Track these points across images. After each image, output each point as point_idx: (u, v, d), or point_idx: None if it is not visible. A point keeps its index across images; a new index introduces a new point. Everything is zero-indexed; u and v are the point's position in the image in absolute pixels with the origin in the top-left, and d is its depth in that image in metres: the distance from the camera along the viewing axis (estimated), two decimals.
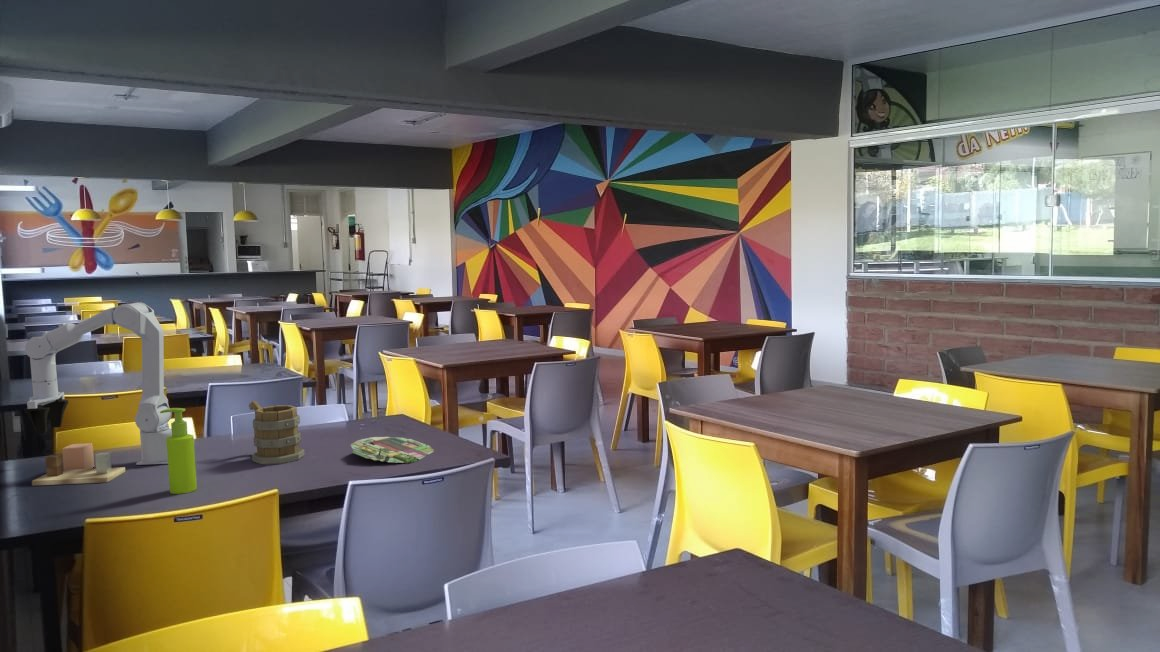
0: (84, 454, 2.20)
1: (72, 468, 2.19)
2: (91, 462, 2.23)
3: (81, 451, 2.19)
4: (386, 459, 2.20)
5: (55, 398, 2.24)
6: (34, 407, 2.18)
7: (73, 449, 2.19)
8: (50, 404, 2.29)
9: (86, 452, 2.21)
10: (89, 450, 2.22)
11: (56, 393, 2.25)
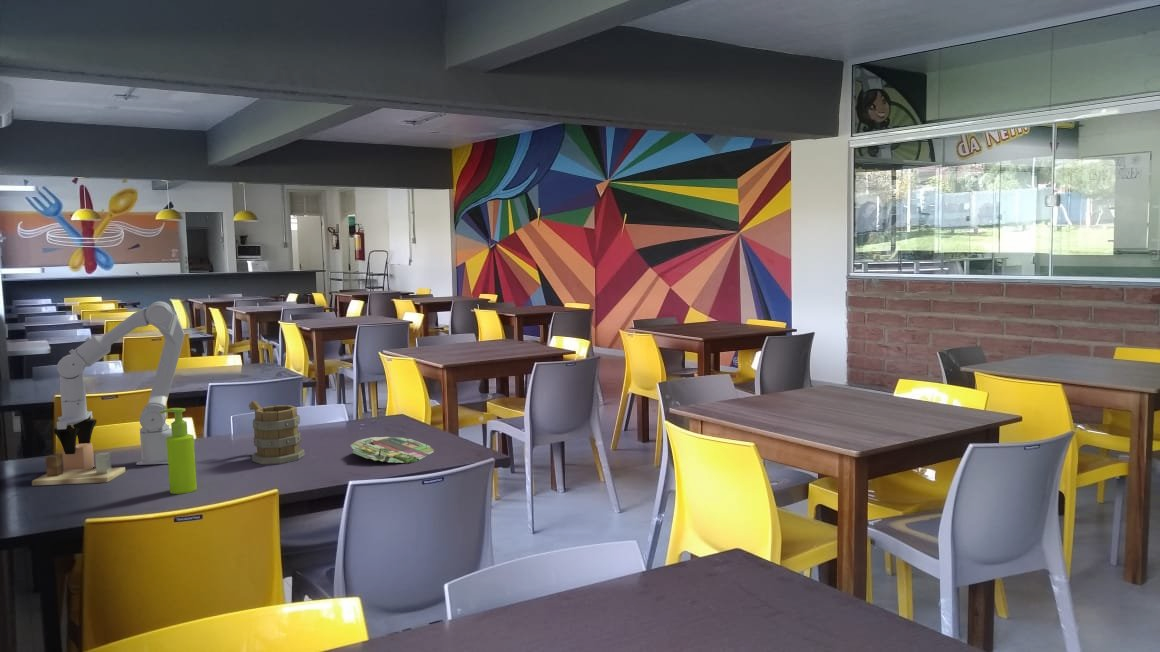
0: (84, 454, 2.20)
1: (72, 468, 2.19)
2: (91, 462, 2.23)
3: (81, 451, 2.19)
4: (386, 459, 2.20)
5: (84, 418, 2.20)
6: (64, 428, 2.14)
7: None
8: (78, 424, 2.25)
9: (86, 452, 2.21)
10: (89, 450, 2.22)
11: (85, 413, 2.21)
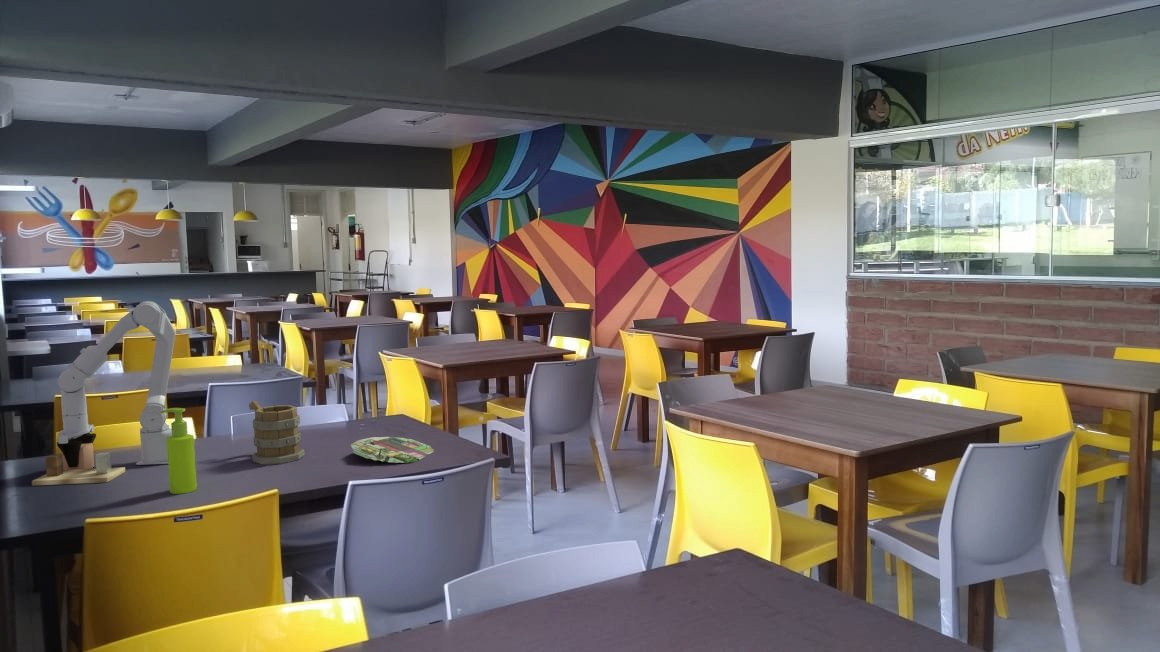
0: (84, 454, 2.20)
1: (72, 468, 2.19)
2: (91, 462, 2.23)
3: (81, 451, 2.19)
4: (386, 459, 2.20)
5: (85, 432, 2.20)
6: (65, 442, 2.14)
7: None
8: (78, 438, 2.24)
9: (86, 452, 2.21)
10: (89, 450, 2.22)
11: (86, 427, 2.21)
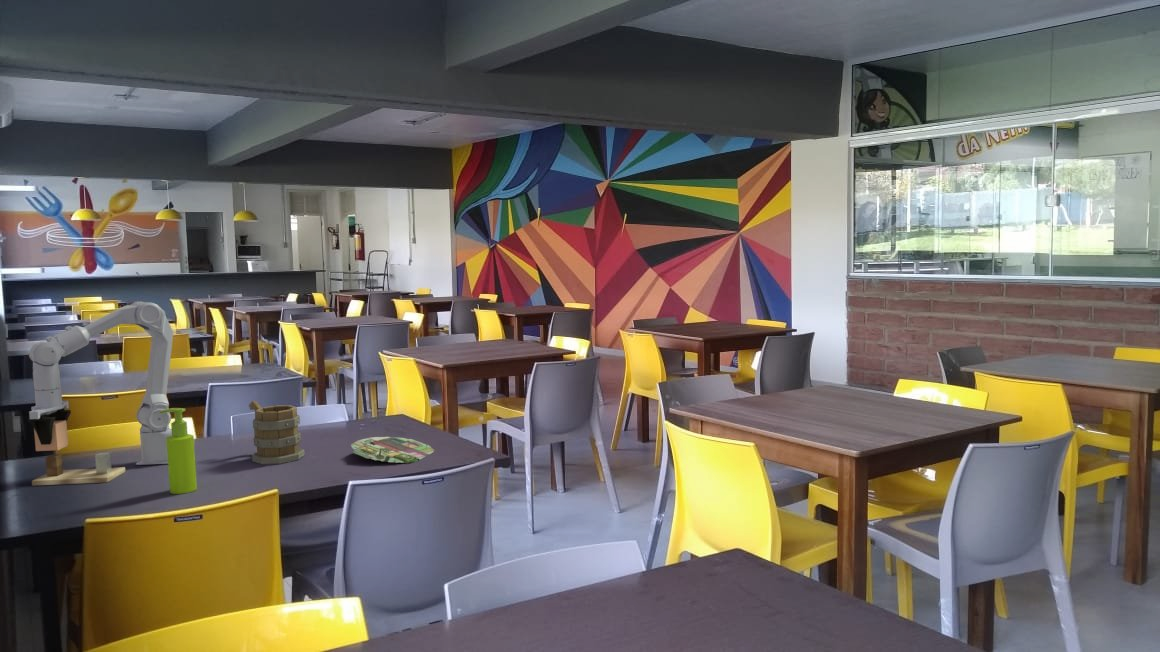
0: (57, 431, 2.10)
1: (44, 446, 2.09)
2: (65, 440, 2.13)
3: (54, 428, 2.09)
4: (386, 459, 2.20)
5: (59, 408, 2.11)
6: (37, 417, 2.04)
7: None
8: (51, 414, 2.14)
9: (59, 429, 2.11)
10: (62, 427, 2.13)
11: (60, 402, 2.11)
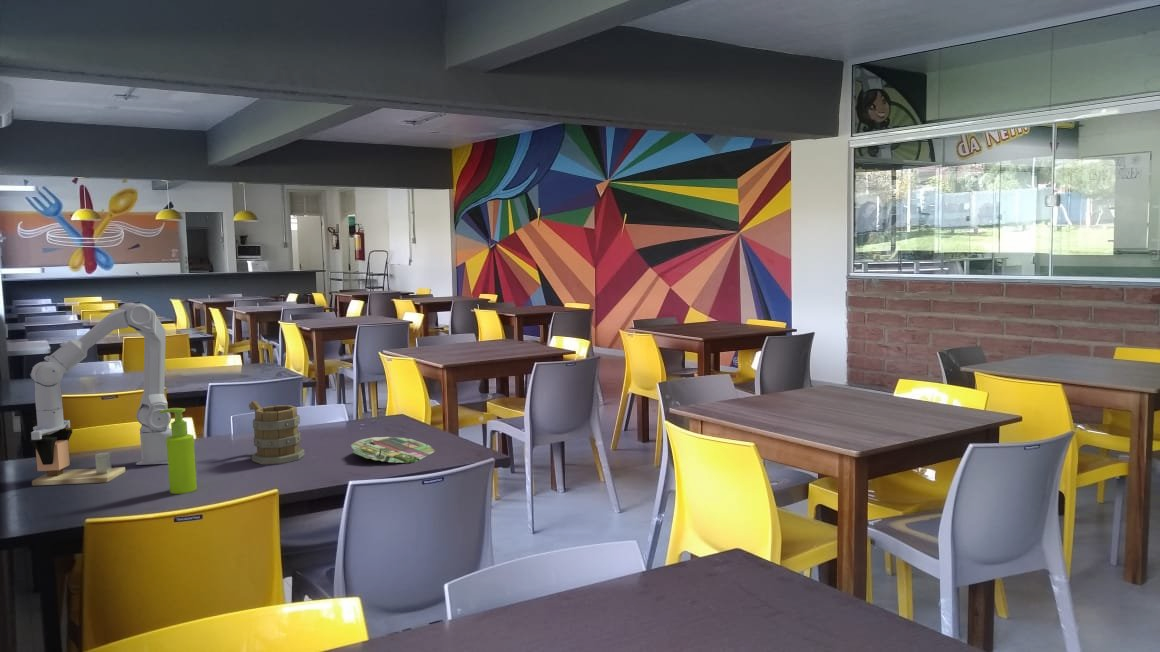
0: (59, 451, 2.11)
1: (46, 466, 2.10)
2: (66, 460, 2.14)
3: (55, 448, 2.10)
4: (386, 459, 2.20)
5: (60, 427, 2.11)
6: (38, 438, 2.05)
7: None
8: (53, 434, 2.15)
9: (61, 449, 2.12)
10: (64, 447, 2.13)
11: (62, 422, 2.12)
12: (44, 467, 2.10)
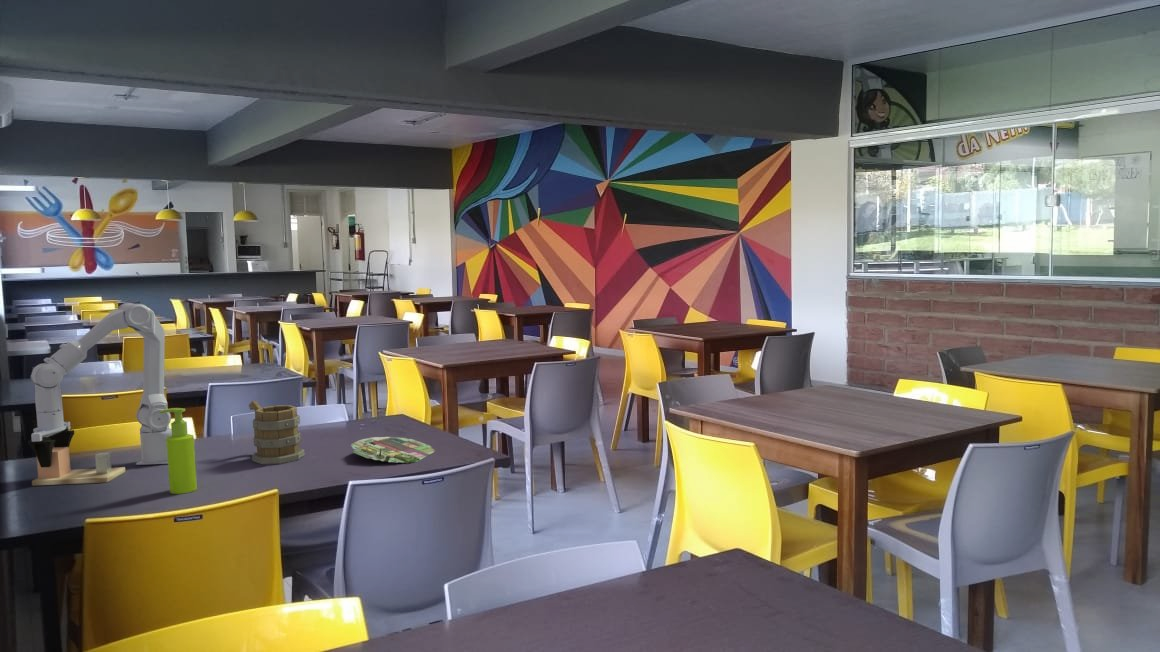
0: (60, 458, 2.11)
1: (47, 473, 2.10)
2: (67, 467, 2.14)
3: (56, 455, 2.10)
4: (387, 459, 2.20)
5: (61, 429, 2.11)
6: (39, 440, 2.05)
7: None
8: (55, 435, 2.16)
9: (61, 456, 2.12)
10: (65, 454, 2.13)
11: (62, 424, 2.12)
12: (45, 474, 2.10)
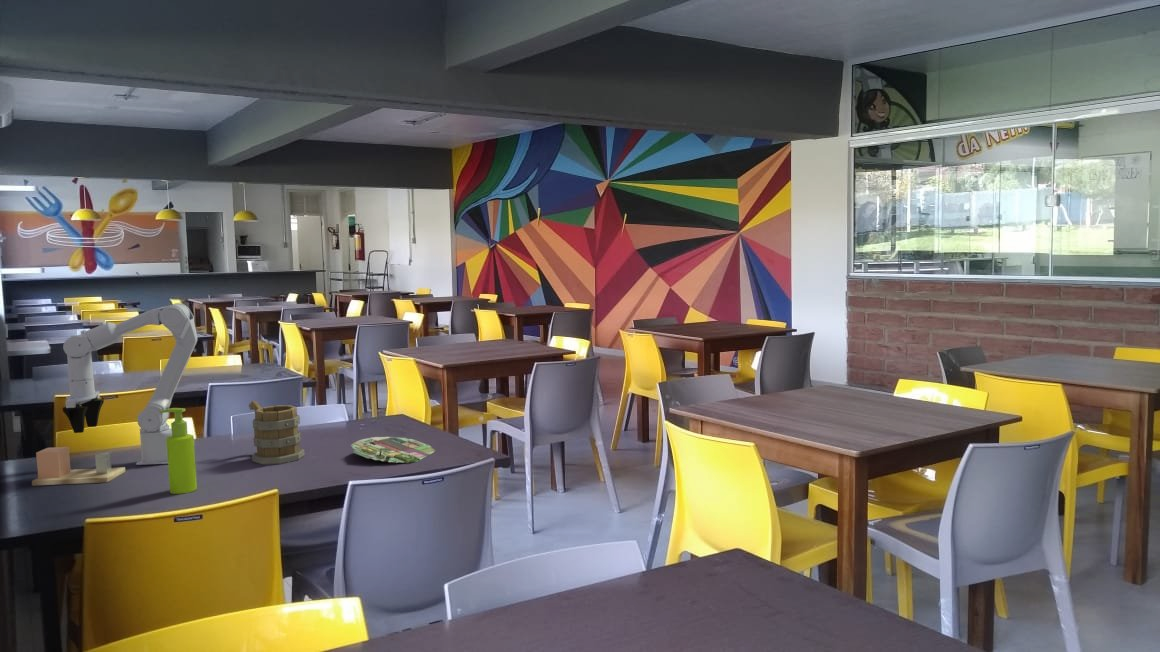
0: (60, 458, 2.11)
1: (47, 473, 2.10)
2: (67, 467, 2.14)
3: (56, 455, 2.10)
4: (387, 459, 2.20)
5: (92, 397, 2.23)
6: (72, 406, 2.16)
7: (48, 453, 2.10)
8: (86, 403, 2.27)
9: (61, 456, 2.12)
10: (65, 454, 2.13)
11: (93, 392, 2.23)
12: (45, 474, 2.10)
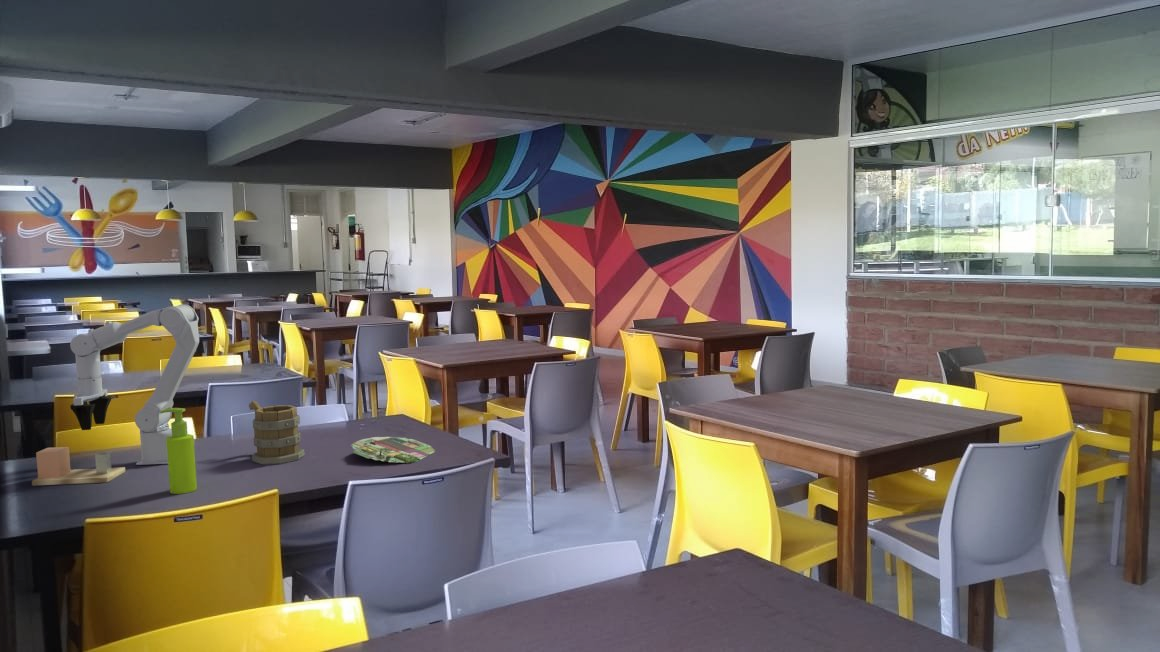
0: (60, 458, 2.11)
1: (47, 473, 2.10)
2: (67, 467, 2.14)
3: (56, 455, 2.10)
4: (387, 459, 2.20)
5: (100, 395, 2.26)
6: (80, 404, 2.19)
7: (48, 453, 2.10)
8: (94, 401, 2.30)
9: (61, 456, 2.12)
10: (65, 454, 2.13)
11: (100, 390, 2.26)
12: (45, 474, 2.10)
